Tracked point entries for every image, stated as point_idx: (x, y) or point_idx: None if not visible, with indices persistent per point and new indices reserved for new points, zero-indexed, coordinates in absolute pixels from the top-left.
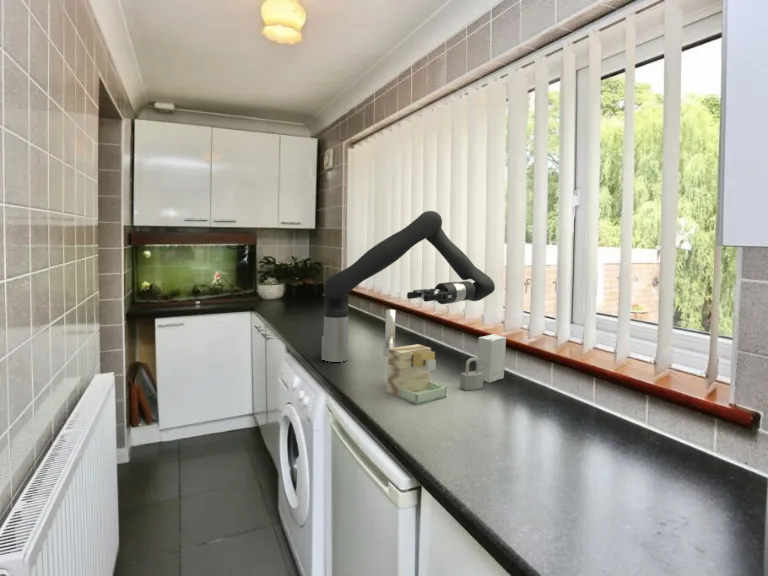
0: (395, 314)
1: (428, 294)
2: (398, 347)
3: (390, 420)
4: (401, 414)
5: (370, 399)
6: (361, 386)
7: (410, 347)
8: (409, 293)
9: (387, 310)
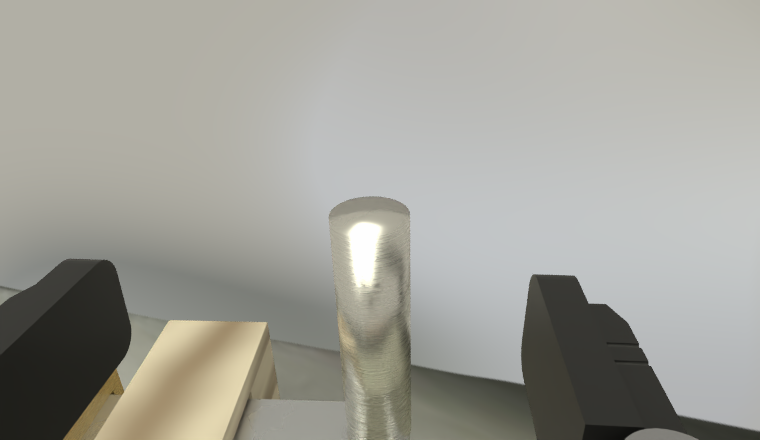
0: (335, 254)
1: (31, 308)
2: (245, 366)
3: (132, 343)
4: (122, 382)
5: (281, 384)
6: (411, 432)
7: (187, 412)
8: (534, 294)
9: (370, 198)
